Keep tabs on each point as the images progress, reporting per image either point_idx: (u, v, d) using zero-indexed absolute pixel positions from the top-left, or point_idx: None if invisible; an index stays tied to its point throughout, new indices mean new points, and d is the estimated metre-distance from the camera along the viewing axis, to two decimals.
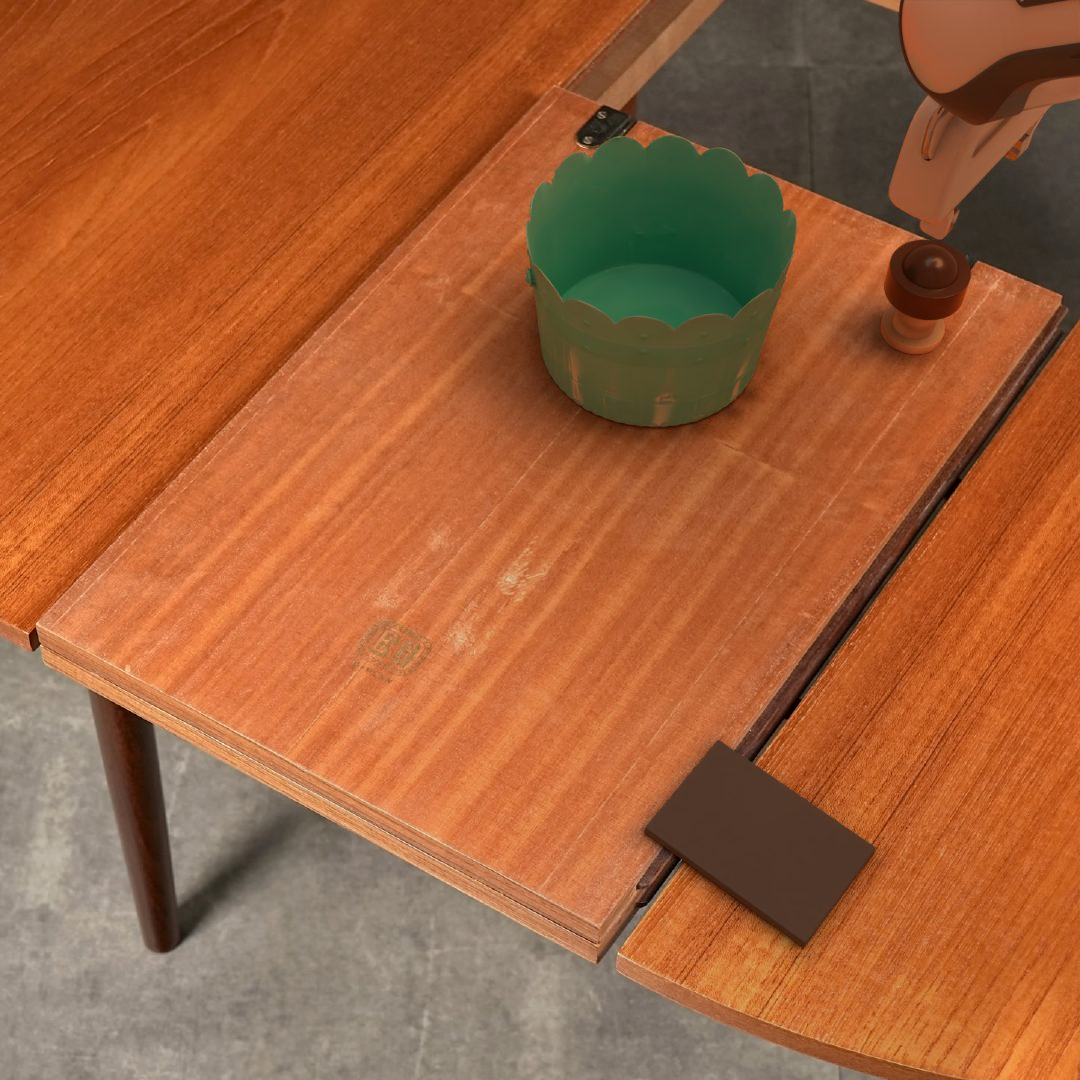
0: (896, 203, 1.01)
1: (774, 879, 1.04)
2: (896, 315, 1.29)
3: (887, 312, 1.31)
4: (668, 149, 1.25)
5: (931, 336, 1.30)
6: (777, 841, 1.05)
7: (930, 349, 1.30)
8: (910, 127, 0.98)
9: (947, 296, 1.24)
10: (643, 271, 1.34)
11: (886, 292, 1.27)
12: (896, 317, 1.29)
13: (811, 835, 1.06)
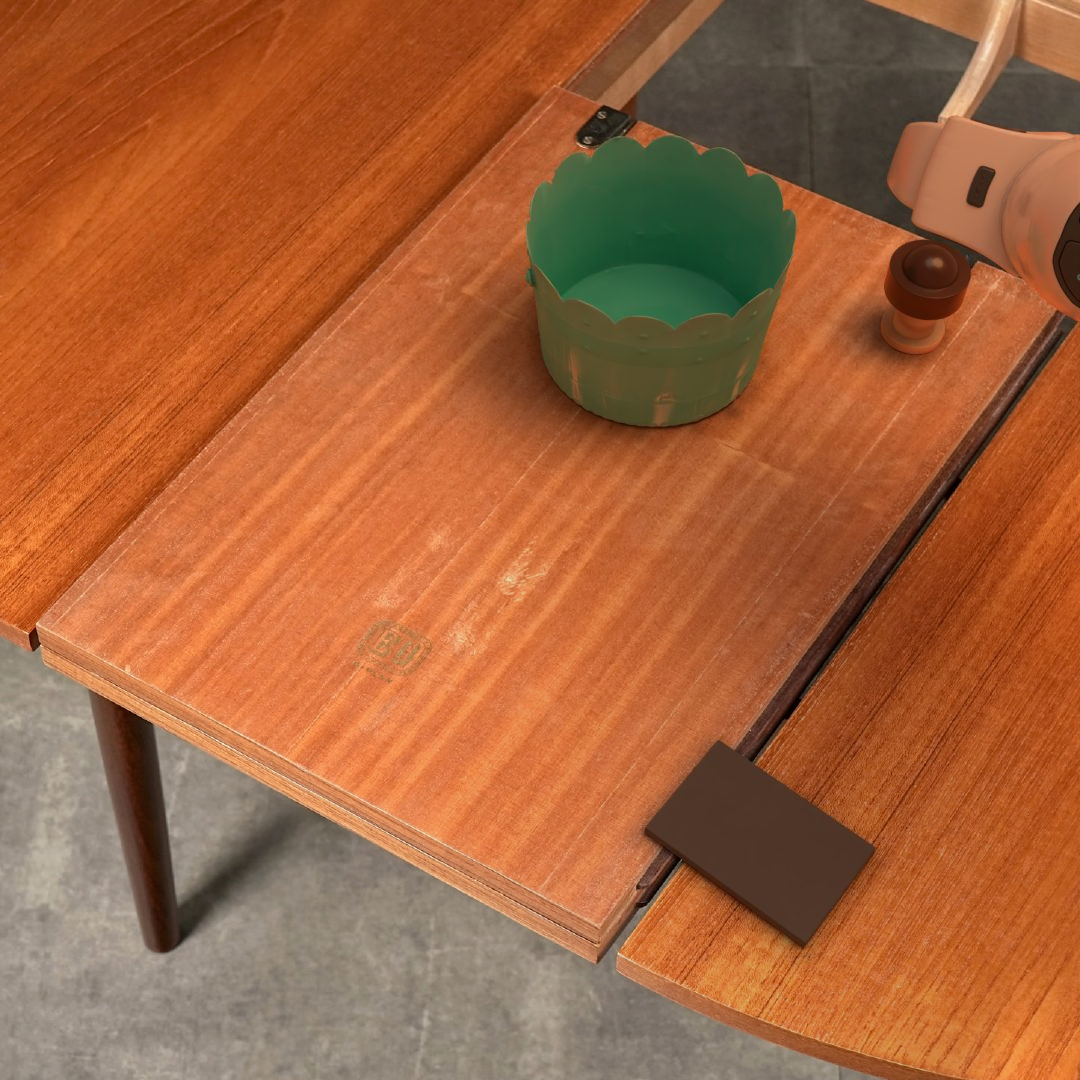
0: None
1: (774, 879, 1.04)
2: (896, 315, 1.29)
3: (887, 312, 1.31)
4: (668, 148, 1.25)
5: (931, 336, 1.30)
6: (777, 841, 1.05)
7: (930, 349, 1.30)
8: None
9: (947, 296, 1.24)
10: (643, 271, 1.34)
11: (886, 292, 1.27)
12: (896, 317, 1.29)
13: (811, 835, 1.06)
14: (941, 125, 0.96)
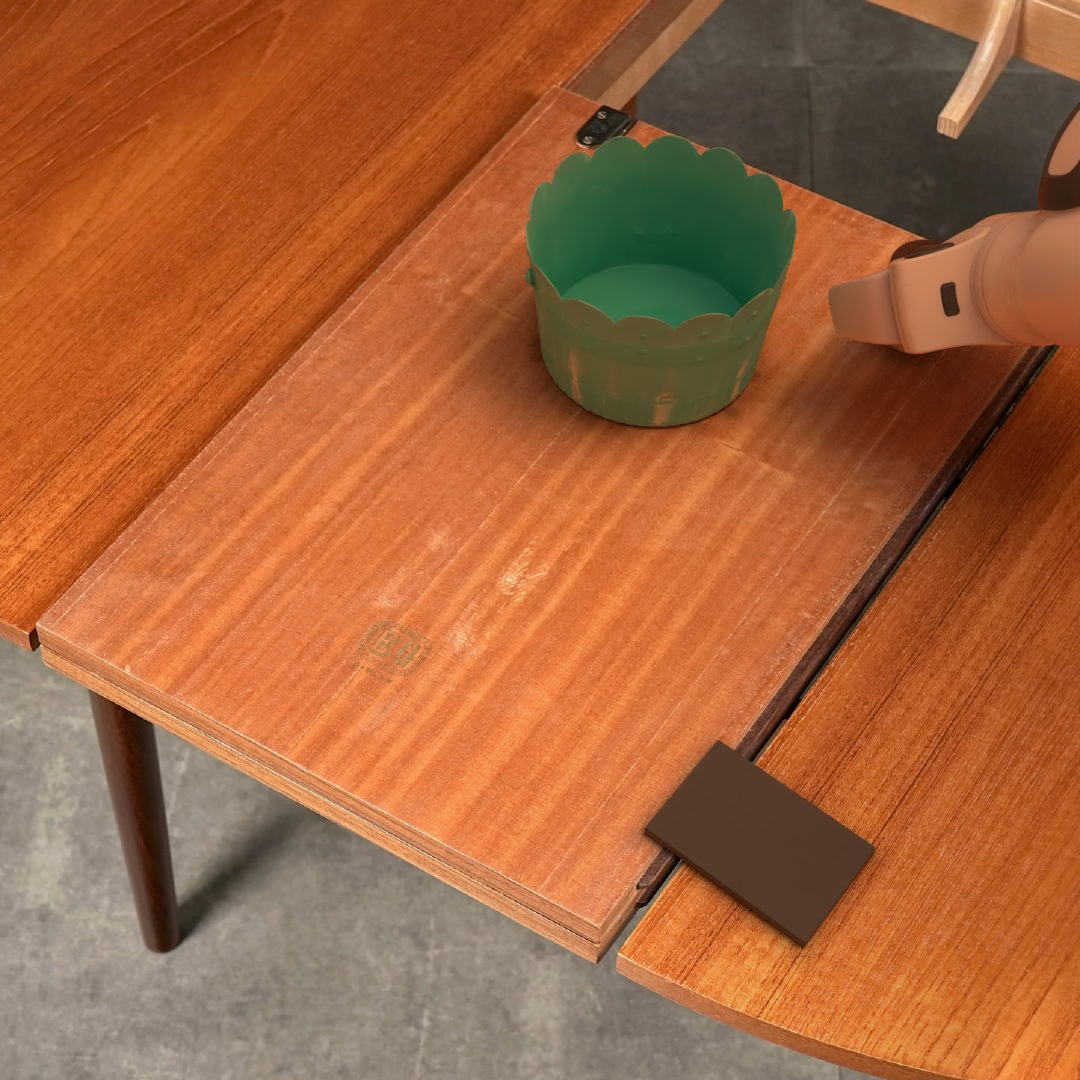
0: None
1: (774, 879, 1.04)
2: None
3: None
4: (668, 148, 1.25)
5: None
6: (777, 841, 1.05)
7: None
8: None
9: None
10: (643, 271, 1.34)
11: None
12: None
13: (811, 835, 1.06)
14: (881, 274, 1.14)
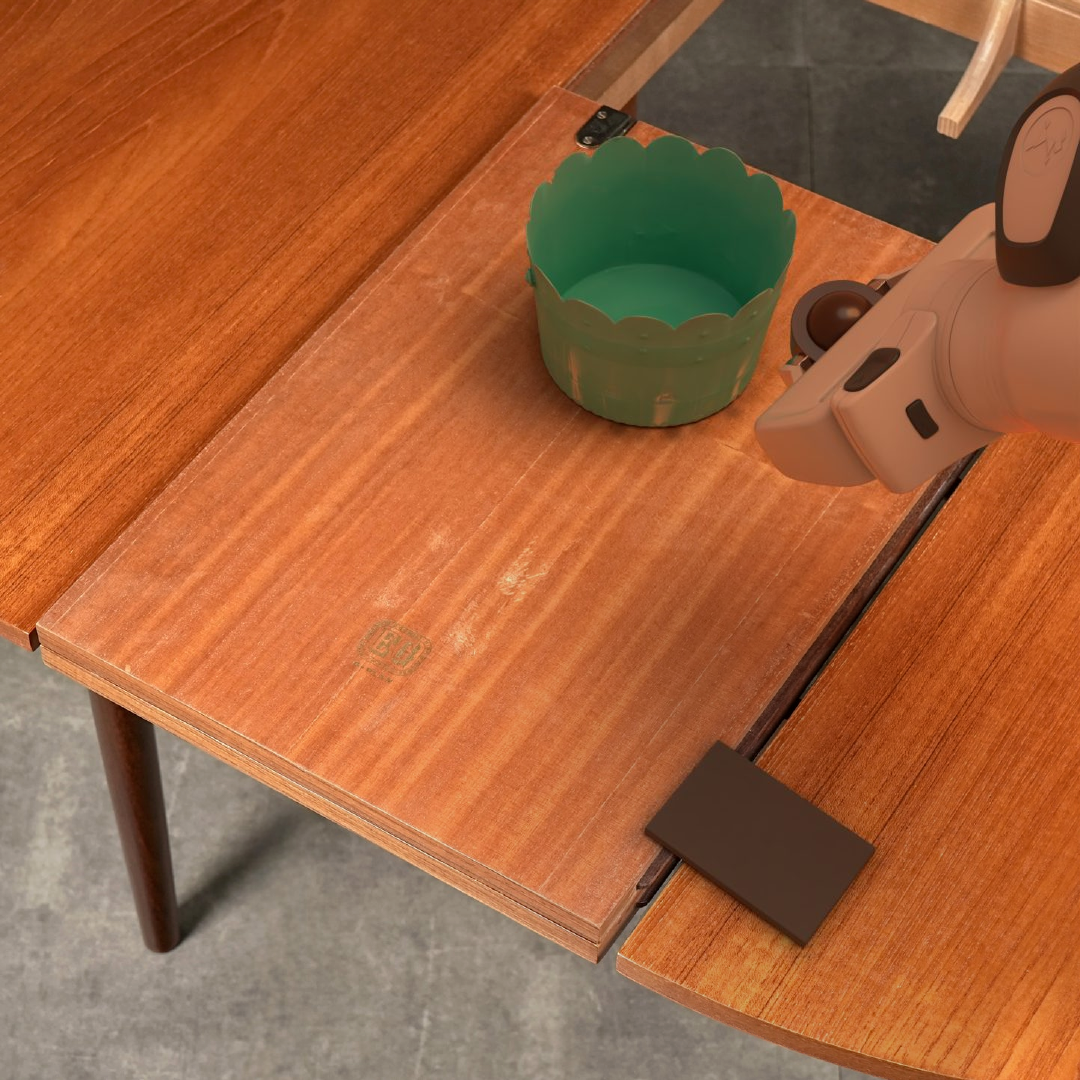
0: None
1: (774, 879, 1.04)
2: None
3: None
4: (668, 148, 1.25)
5: None
6: (777, 841, 1.05)
7: None
8: None
9: None
10: (643, 271, 1.34)
11: None
12: None
13: (811, 835, 1.06)
14: (822, 414, 0.88)
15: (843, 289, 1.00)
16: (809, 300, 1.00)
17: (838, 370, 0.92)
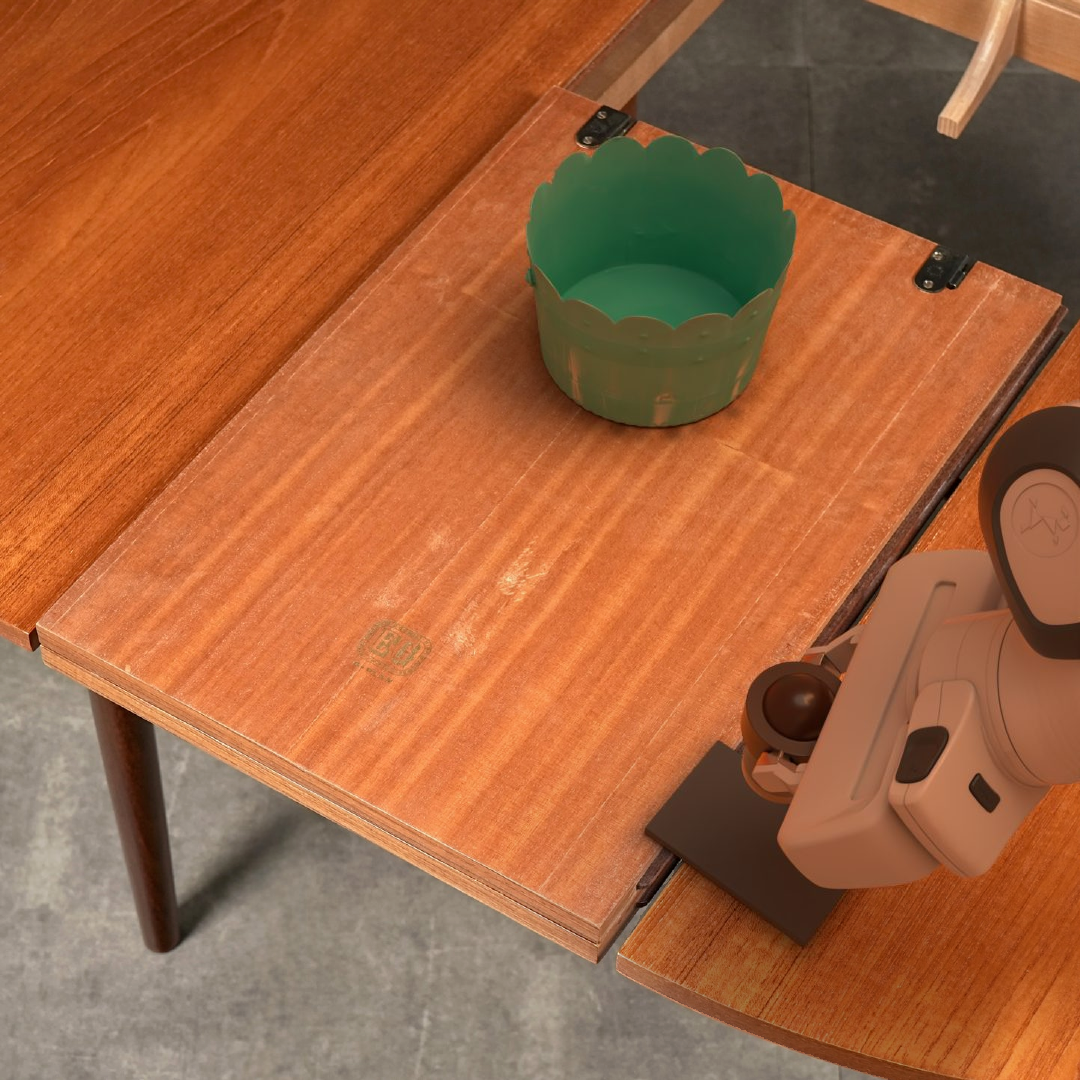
0: None
1: (774, 879, 1.04)
2: None
3: (747, 767, 0.98)
4: (668, 149, 1.25)
5: None
6: (777, 841, 1.05)
7: None
8: None
9: None
10: (643, 271, 1.34)
11: None
12: None
13: None
14: (879, 814, 0.81)
15: (786, 672, 0.94)
16: (757, 692, 0.93)
17: (852, 761, 0.85)
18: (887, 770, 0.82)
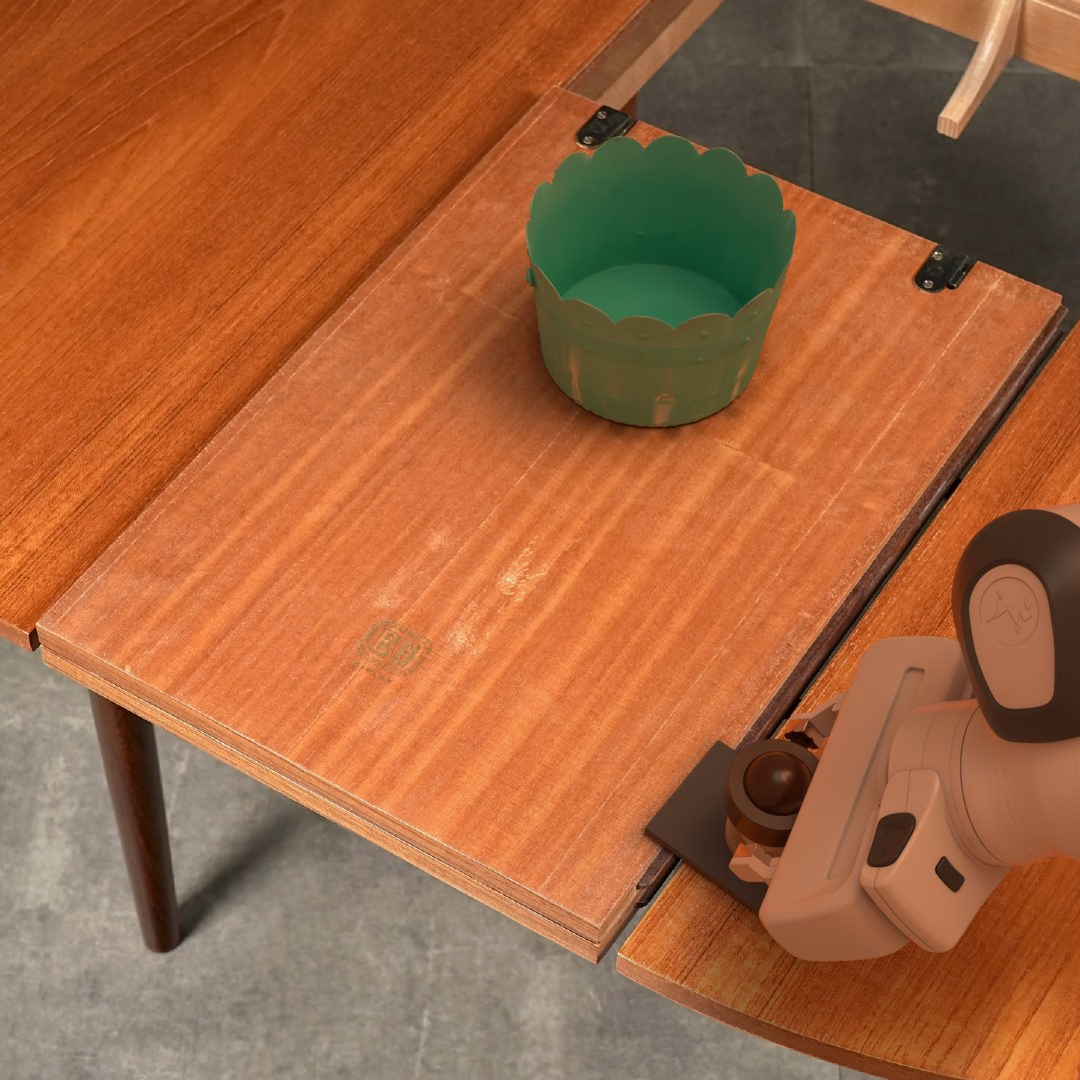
0: None
1: None
2: None
3: (730, 834, 1.05)
4: (668, 149, 1.25)
5: None
6: None
7: None
8: None
9: None
10: (643, 271, 1.34)
11: (748, 836, 1.00)
12: None
13: None
14: (852, 895, 0.87)
15: (766, 749, 1.01)
16: (739, 768, 1.01)
17: (828, 841, 0.92)
18: (859, 853, 0.88)
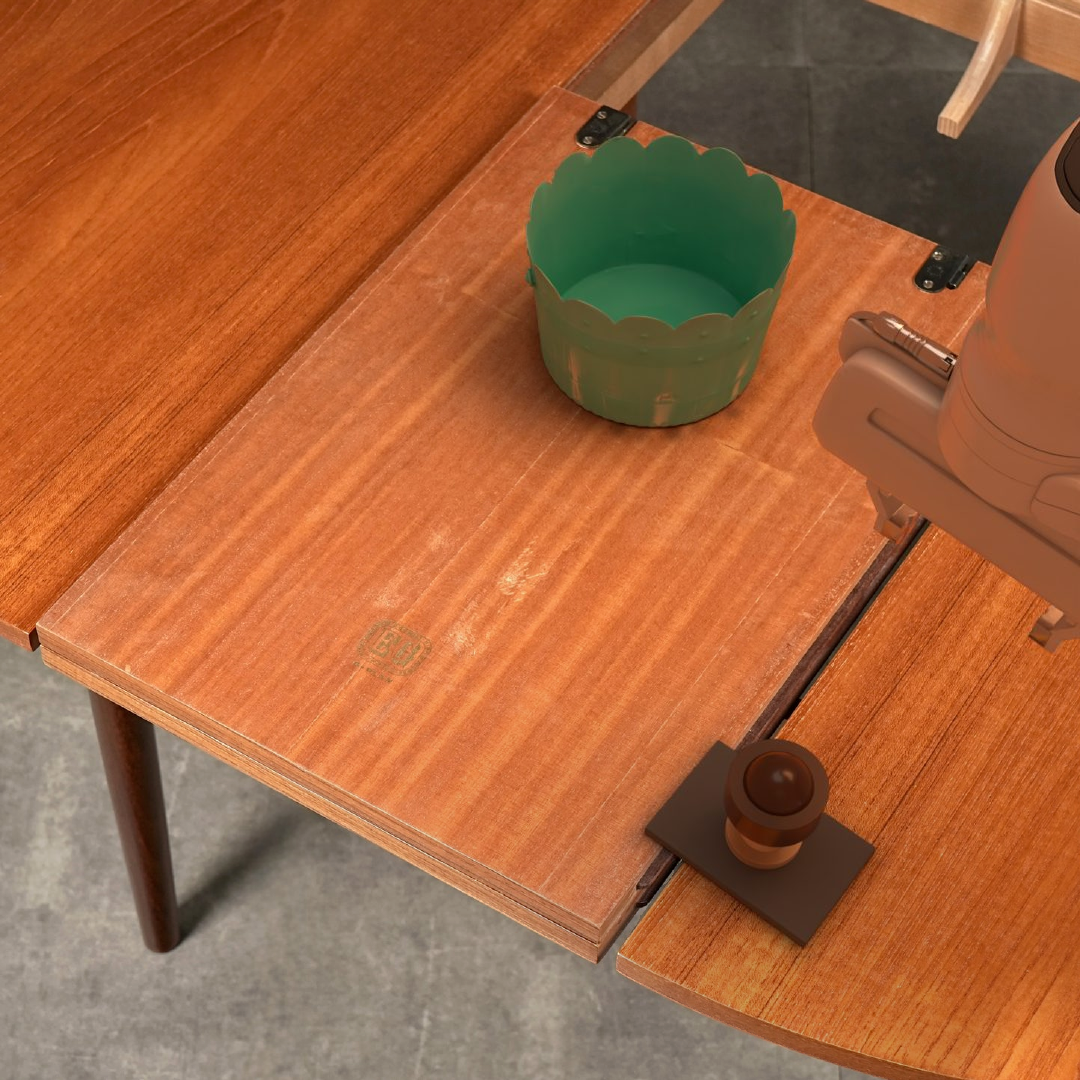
0: None
1: (774, 879, 1.04)
2: None
3: (730, 834, 1.05)
4: (668, 149, 1.25)
5: None
6: None
7: None
8: None
9: (824, 805, 0.99)
10: (643, 271, 1.34)
11: (748, 836, 1.00)
12: None
13: (811, 835, 1.06)
14: None
15: (766, 749, 1.01)
16: (739, 768, 1.01)
17: (1075, 576, 0.77)
18: None
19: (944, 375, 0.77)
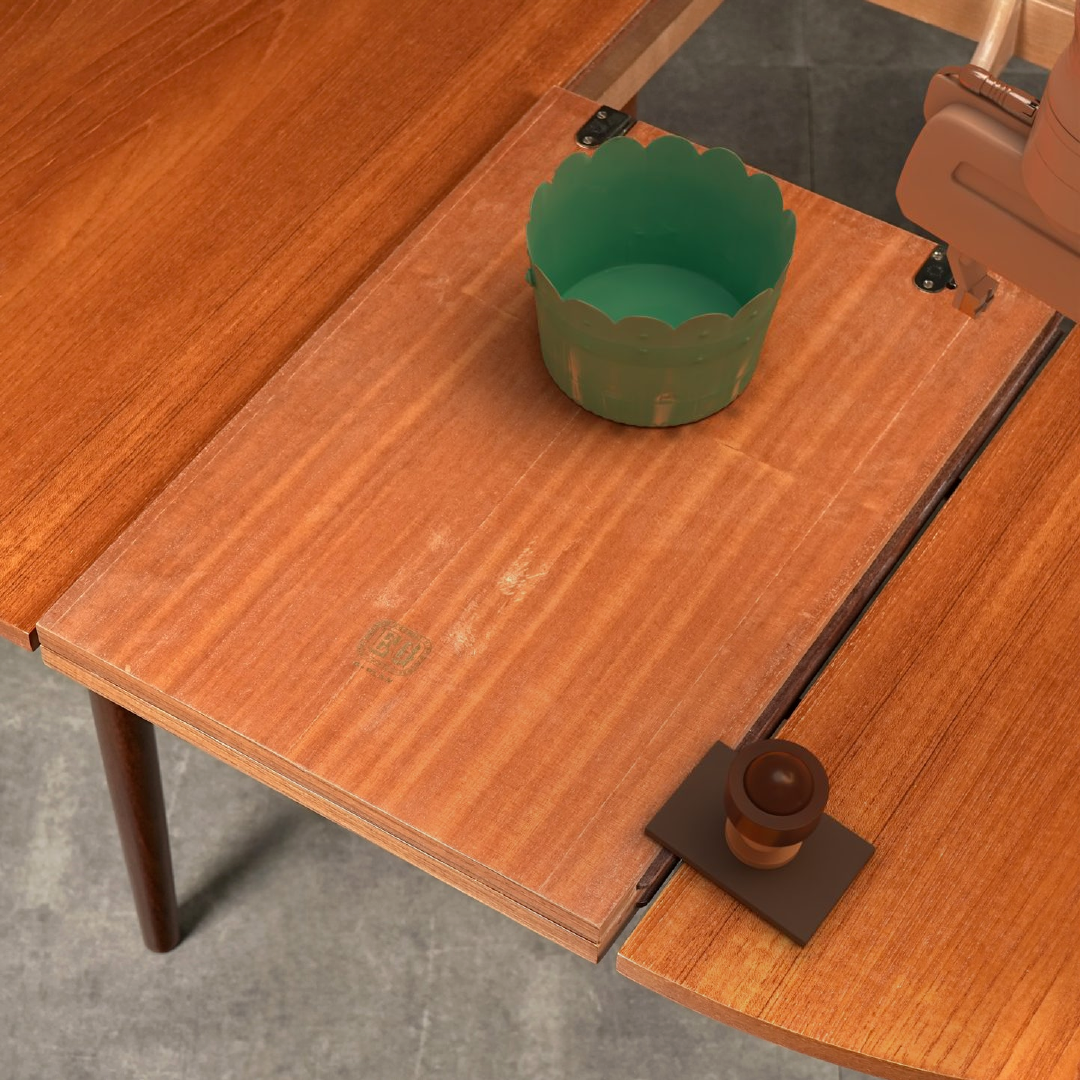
0: None
1: (774, 879, 1.04)
2: None
3: (730, 834, 1.05)
4: (668, 148, 1.25)
5: None
6: None
7: None
8: None
9: (824, 805, 0.99)
10: (643, 271, 1.34)
11: (748, 836, 1.00)
12: None
13: (811, 835, 1.06)
14: None
15: (766, 749, 1.01)
16: (739, 768, 1.01)
17: None
18: None
19: (1028, 120, 0.79)
